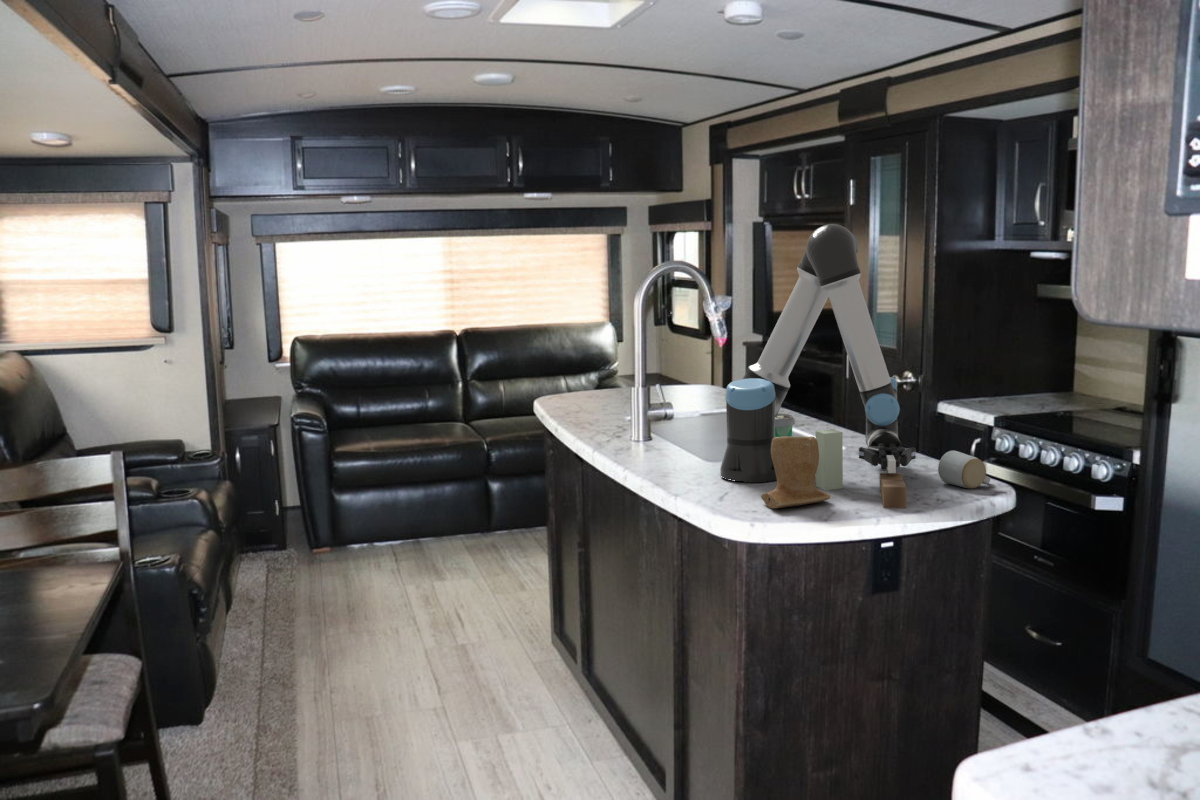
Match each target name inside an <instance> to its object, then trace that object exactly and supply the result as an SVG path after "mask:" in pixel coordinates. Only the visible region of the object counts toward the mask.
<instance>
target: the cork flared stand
mask: <svg viewBox="0 0 1200 800" xmlns="http://www.w3.org/2000/svg"><path fill="white" fill-rule="evenodd" d="M771 457H772V461H773V464H774V468H775V473H776V478H777V480H776V486H775V488H774V489H772V490H770V491H766V492H764V493H762V494H761V495H760V499H761V500H762V501H763V503H764V504H765V505H766V506H767V507H768V508H770V509H784V508H790V507H791V508H793V507H798V506H804V505H810V504H815V503H816V504H817V503H820V502H823V501H828V500H830V499H831V498H832V497H831V495H830V494H828V493H826V492H824V491H822V490H820V489H818V487H817V486H816V471H817V467H818V462H819V448H818V442H817V440H816V436H793V435H792V437H774V438H773V439H772V443H771Z"/></svg>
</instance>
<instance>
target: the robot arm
mask: <svg viewBox="0 0 1200 800" xmlns="http://www.w3.org/2000/svg"><path fill="white" fill-rule="evenodd" d="M857 253H858V242H857V239H856V237H855V236H854V234H853V233H852V232H851V230H849V229H848V228H847V227H845V226H843V225H840V224H837V223H836V224H835V223H828V224H825V225H822V226H820V227H818V228H816V229H815V230H814V231H813V232H811V234H810V236H809V238H808V240H807V243H806V249H805V251H804V253H803V255H802V256H801V259H800V261H799V263H798V265H797V268H796V270H797V274H798V279H797V281H796V283H795V285H794V287H793V289H792V291H791V293H790V295H789V298H788V300H787V301H786V303H785V305H784V308H783V309H782V311H781V314H780V315H779V318H778V319H777V322H776V324H775V326H774V328H773V330H772V331H771V333H770V337H768V339H767V343H766V344H765V346H764V349H763V350H762V353H761V355H760V357H759V359H758V360H757V362H756V363H754V364H751V365H749V366H748V367H747V369H746V371H745V373H744V376H743V377H742V378H741V379H737V380H733V381H731V382H729V384H727V386H726V389H725V400H726V401H725V404H726V448H725V452H724V455H723V459H722V462H721V465H720V477H721V476H722V477H724V478H726V479H731V480H735V481H744V482H743V483H765V482H766V483H767V481H768V482H773V481H777V478H776V473H775V468H774V464H773V461H772V457H771V443H772V439H773V438H774V437H775V416H776V415H777V414H778V413H780V410H781V407H782V405H783V404H782V403H783V402H784V401H785V398H786V396H787V394H788V391H789V390H790V388H791V384H790V381H789V376H790V374H791V372H792V371H793V369H794V366H795V364H796V362H797V360H798V359H799V357H800V355H801V353H802V350H803V348H804V346H805V345H806V342H807V341H808V339H809V336H810V334H811V332H812V331H813V328H814V326H815V325H816V322H817V320H818V319H819V316H820V315H821V312H822V310H823V308H824V306H825V305H826V302H827V301H828V300H829V302H830V305H831V309H832V311H833V314H834V318H835V320H836V323H837V327H838V330H839V333H840V335H841V338H842V342H843V344H844V347H845V351H846V354H847V357H848V360H849V363H850V366H851V369H852V372H853V375H854V378H855V381H856V385H857V388H858V390H859V393H860V398H861V400H862V401H861V402H862V404H863V406H864V413H865V417H866V419H865V421H866V422H865V425H866V426H865V428H866V430H865V431H866V433H865V444H866V446H867V447H864V446H860V447H858V458H859V459H861V460H864V461H866V462H867V463H868V464H870V465H872V466H874V467H877V466H879V465H880V470H884V471H885V470H887V473H897V472H896V471H897V469H896V468H901V467H907V466H908V465H909V464H910V463H911V461H912V460H916V449H917V448H915V447H908V448H907V447H906V448H905V447H904V446H903V445H902V443H901V441H900V439H899V431H898V430H899V427H898V424H899V423H898V417H899V414H900V410H901V408H900V404H899V401H898V388H897V387H898V386H897V384H898V383H897V380H896V379H895V378H894V377H890V374H889V371H888V369H887V363H886V362H885V359H884V354H883V353H882V349H881V347H880V342H879V339H878V337H877V334H876V331H875V327H874V325H873V321H872V318H871V315H870V313H869V308H868V306H867V305H868V304H867V303H866V300H865V297H864V294H863V291H862V287H861V284H860V278H861V276H862V273H861V270H860V266H859V262H858V256H857ZM828 298H829V299H828ZM735 481H734V482H735Z"/></svg>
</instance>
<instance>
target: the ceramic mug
mask: <svg viewBox="0 0 1200 800" xmlns="http://www.w3.org/2000/svg"><path fill="white" fill-rule="evenodd" d="M937 466H938V467H937V471H938V472H937V473H938V476H939V478H940V479H941V481H942V482H944V483H945V484H949V485H952V486H957V487H960V488H964V489H971V490H972V489H976V488H978V487H980V486H981V485H982V484H986V485H989V484H990V482H991V477H990V476H988V475H987V468H986V465H985V462H983V460H981V459H979V458H978V457H976V456H972V455H969V454H966V453H964V452H961V451H957V450H949V451H947V452H945V453H944V454H943V455H942V456H941V458H940V460H939V462H938V465H937Z"/></svg>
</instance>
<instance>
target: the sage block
mask: <svg viewBox="0 0 1200 800" xmlns="http://www.w3.org/2000/svg"><path fill="white" fill-rule="evenodd" d="M843 434H844V433H843V431H839V430H836V429H832V428H831V429H822V430H815V438H816V440H817V442H818V448H819V462H818V467H817V471H816V475H815V487H816V488H819V489H821V490H823V489H824V491H827V490H828V491H829V490H841V489H843V487H844V485H843V483H844V478H843V477H844V475H843V474H844V471H843V470H844V469H843V468H844V466H843V461H844V460H843V459H844V458H843V457H844V456H843V447H844V446H843V443H844V442H843V441H844V440H843V438H844V437H843Z"/></svg>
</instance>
